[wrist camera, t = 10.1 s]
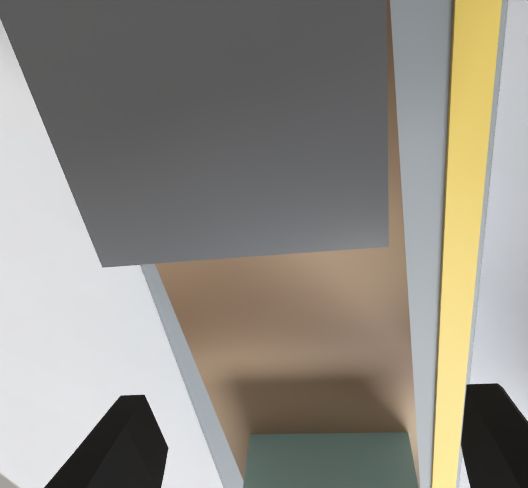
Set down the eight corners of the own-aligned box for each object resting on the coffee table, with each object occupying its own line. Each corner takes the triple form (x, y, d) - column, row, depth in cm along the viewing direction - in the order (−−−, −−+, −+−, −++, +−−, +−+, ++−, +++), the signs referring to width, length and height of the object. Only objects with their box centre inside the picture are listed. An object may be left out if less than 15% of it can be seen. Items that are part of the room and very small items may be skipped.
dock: (443, 467, 24) (456, 521, 22) (240, 468, 26) (232, 517, 24) (508, -481, 8) (578, -638, 6) (-15, -308, 10) (-107, -380, 8)
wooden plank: (407, 478, 21) (425, 580, 17) (288, 481, 22) (283, 578, 18) (330, -447, 7) (342, -778, 4) (31, -322, 8) (-158, -500, 5)
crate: (371, 176, 9) (388, 246, 7) (149, 197, 9) (103, 267, 7) (364, -76, 7) (386, -88, 5) (80, -23, 7) (-13, -14, 5)
